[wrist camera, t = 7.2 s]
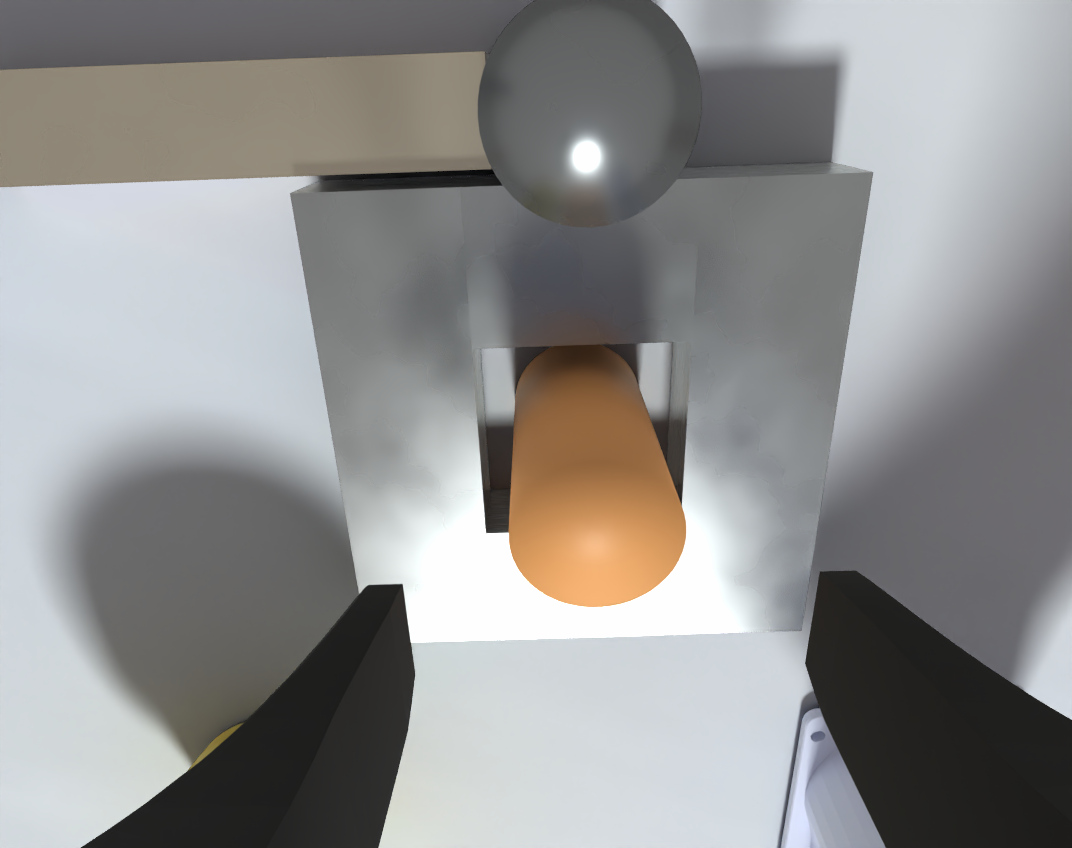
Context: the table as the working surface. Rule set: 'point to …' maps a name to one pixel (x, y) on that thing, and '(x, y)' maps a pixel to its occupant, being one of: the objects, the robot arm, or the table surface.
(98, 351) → the table surface
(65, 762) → the table surface
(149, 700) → the table surface
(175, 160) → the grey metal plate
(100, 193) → the table surface
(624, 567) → the orange rounded cylinder
